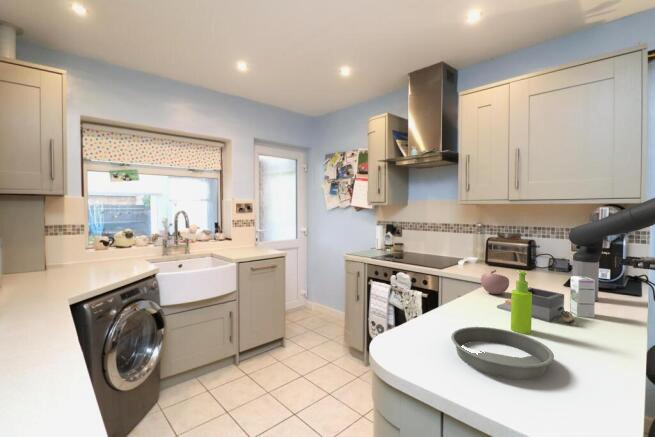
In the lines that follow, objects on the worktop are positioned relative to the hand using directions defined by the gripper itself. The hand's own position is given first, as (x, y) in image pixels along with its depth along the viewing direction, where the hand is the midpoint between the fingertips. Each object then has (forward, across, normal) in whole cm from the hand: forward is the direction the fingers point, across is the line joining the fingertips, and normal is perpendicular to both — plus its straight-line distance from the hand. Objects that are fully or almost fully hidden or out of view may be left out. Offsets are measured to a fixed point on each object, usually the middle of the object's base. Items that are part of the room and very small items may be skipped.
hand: (622, 260), depth 111 cm
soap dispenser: (+16, +36, +23) cm, 46 cm away
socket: (+24, +14, +23) cm, 36 cm away
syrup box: (+11, 0, +23) cm, 26 cm away
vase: (+10, +16, +23) cm, 30 cm away
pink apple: (+46, 0, +23) cm, 51 cm away
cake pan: (+9, +62, +24) cm, 67 cm away
